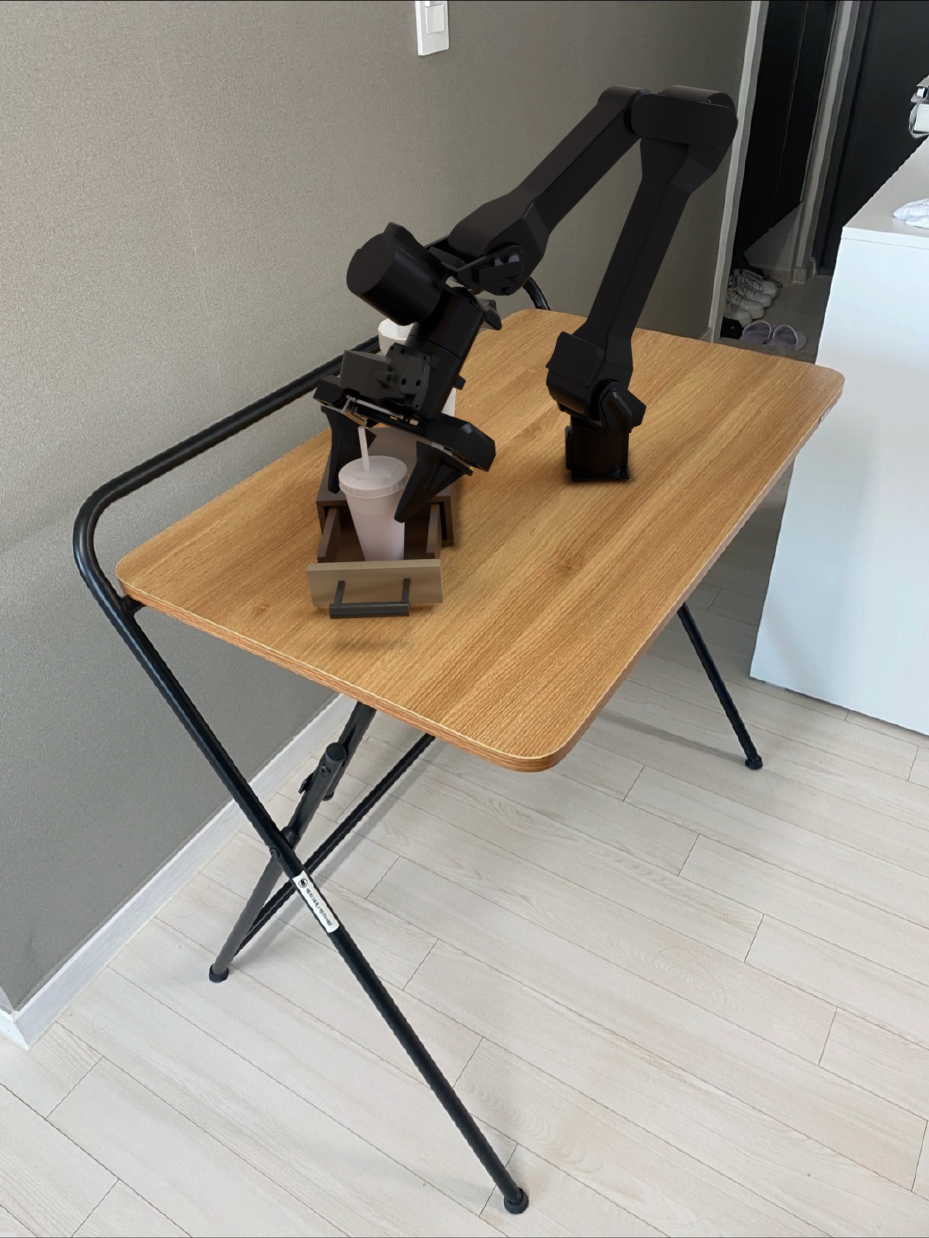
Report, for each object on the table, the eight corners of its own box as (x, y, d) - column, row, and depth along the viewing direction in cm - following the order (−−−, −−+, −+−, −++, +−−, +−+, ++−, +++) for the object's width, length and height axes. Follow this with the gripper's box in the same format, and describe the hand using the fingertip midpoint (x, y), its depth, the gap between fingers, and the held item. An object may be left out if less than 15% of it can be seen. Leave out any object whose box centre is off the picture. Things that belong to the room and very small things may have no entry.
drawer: (441, 636, 85) (437, 598, 82) (304, 640, 86) (296, 603, 83) (449, 519, 100) (446, 484, 98) (333, 524, 101) (327, 489, 98)
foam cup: (438, 451, 114) (429, 346, 106) (375, 435, 118) (362, 333, 110) (479, 418, 120) (474, 316, 112) (418, 404, 124) (409, 305, 116)
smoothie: (368, 537, 97) (350, 408, 88) (427, 546, 95) (414, 416, 86) (340, 572, 92) (318, 441, 83) (401, 583, 90) (385, 449, 81)
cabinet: (454, 545, 98) (450, 495, 94) (324, 550, 99) (315, 501, 95) (459, 470, 110) (455, 424, 106) (343, 475, 111) (335, 429, 107)
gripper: (311, 289, 86) (239, 447, 87) (466, 332, 76) (384, 511, 76) (383, 344, 96) (317, 487, 96) (530, 389, 85) (456, 549, 86)
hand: (363, 506), depth 88 cm, fingers open, 8 cm apart
